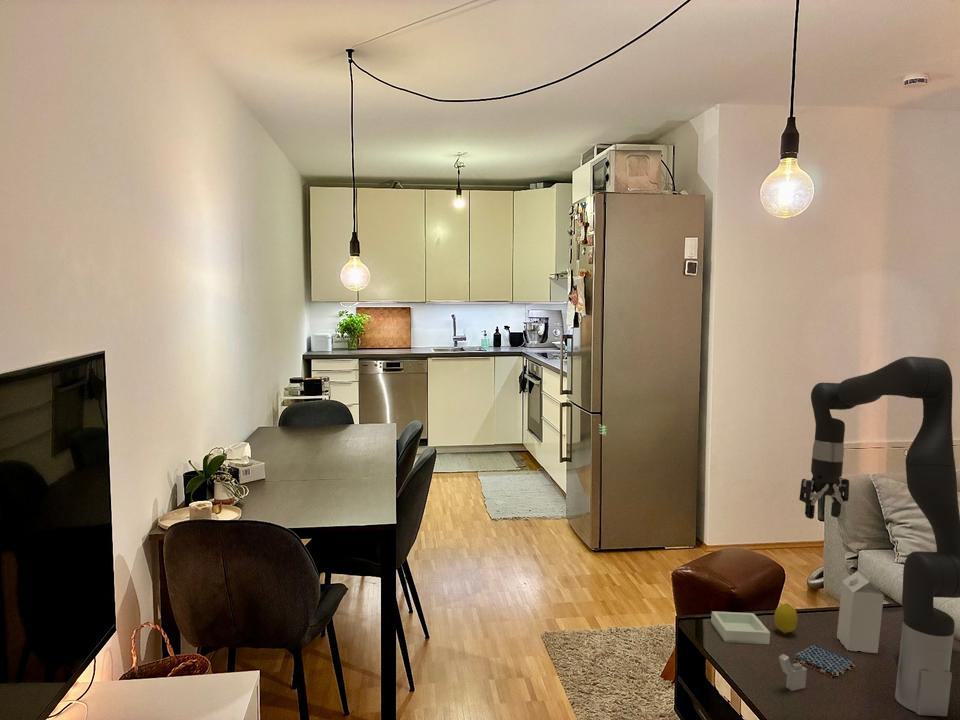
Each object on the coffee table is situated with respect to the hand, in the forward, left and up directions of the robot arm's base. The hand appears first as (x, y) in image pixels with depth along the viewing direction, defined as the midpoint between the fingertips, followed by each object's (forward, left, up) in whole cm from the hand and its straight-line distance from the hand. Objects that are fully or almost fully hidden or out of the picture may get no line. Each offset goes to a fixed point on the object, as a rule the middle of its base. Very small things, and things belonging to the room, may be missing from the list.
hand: (822, 517), depth 195 cm
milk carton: (-15, -4, -28) cm, 32 cm away
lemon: (-10, +12, -28) cm, 32 cm away
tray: (-11, +24, -28) cm, 39 cm away
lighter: (-37, +22, -28) cm, 52 cm away
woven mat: (-25, +9, -29) cm, 39 cm away
